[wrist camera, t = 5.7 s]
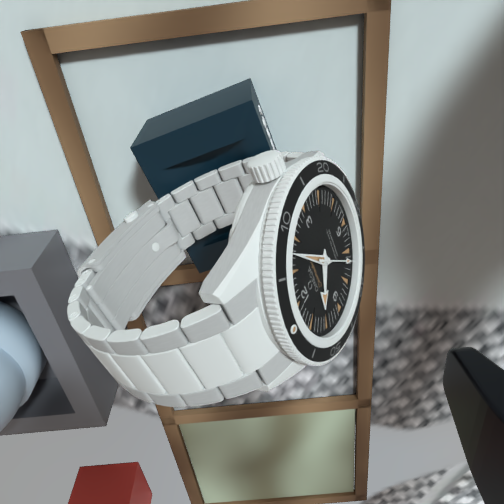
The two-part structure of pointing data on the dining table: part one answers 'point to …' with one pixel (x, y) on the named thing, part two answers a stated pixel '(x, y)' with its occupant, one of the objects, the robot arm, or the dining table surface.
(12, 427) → the dome frame
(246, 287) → the watch
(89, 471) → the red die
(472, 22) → the dining table surface
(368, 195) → the brown flat frame
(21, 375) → the dome button
